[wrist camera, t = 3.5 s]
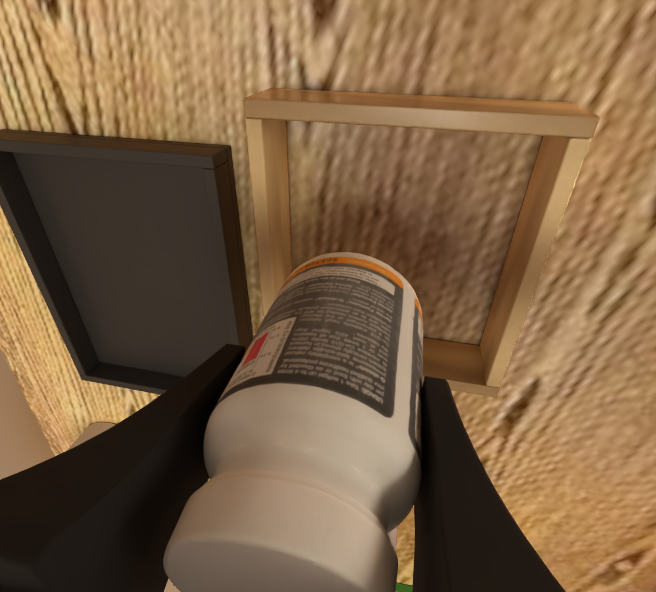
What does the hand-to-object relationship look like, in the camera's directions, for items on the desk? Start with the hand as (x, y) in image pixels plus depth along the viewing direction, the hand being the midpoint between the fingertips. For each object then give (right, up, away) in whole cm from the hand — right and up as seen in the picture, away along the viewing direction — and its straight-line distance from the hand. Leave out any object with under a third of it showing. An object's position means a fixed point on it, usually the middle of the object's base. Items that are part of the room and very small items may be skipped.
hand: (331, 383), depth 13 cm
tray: (-11, +4, +13) cm, 18 cm away
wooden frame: (+3, +6, +8) cm, 10 cm away
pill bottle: (+1, +2, +3) cm, 4 cm away
